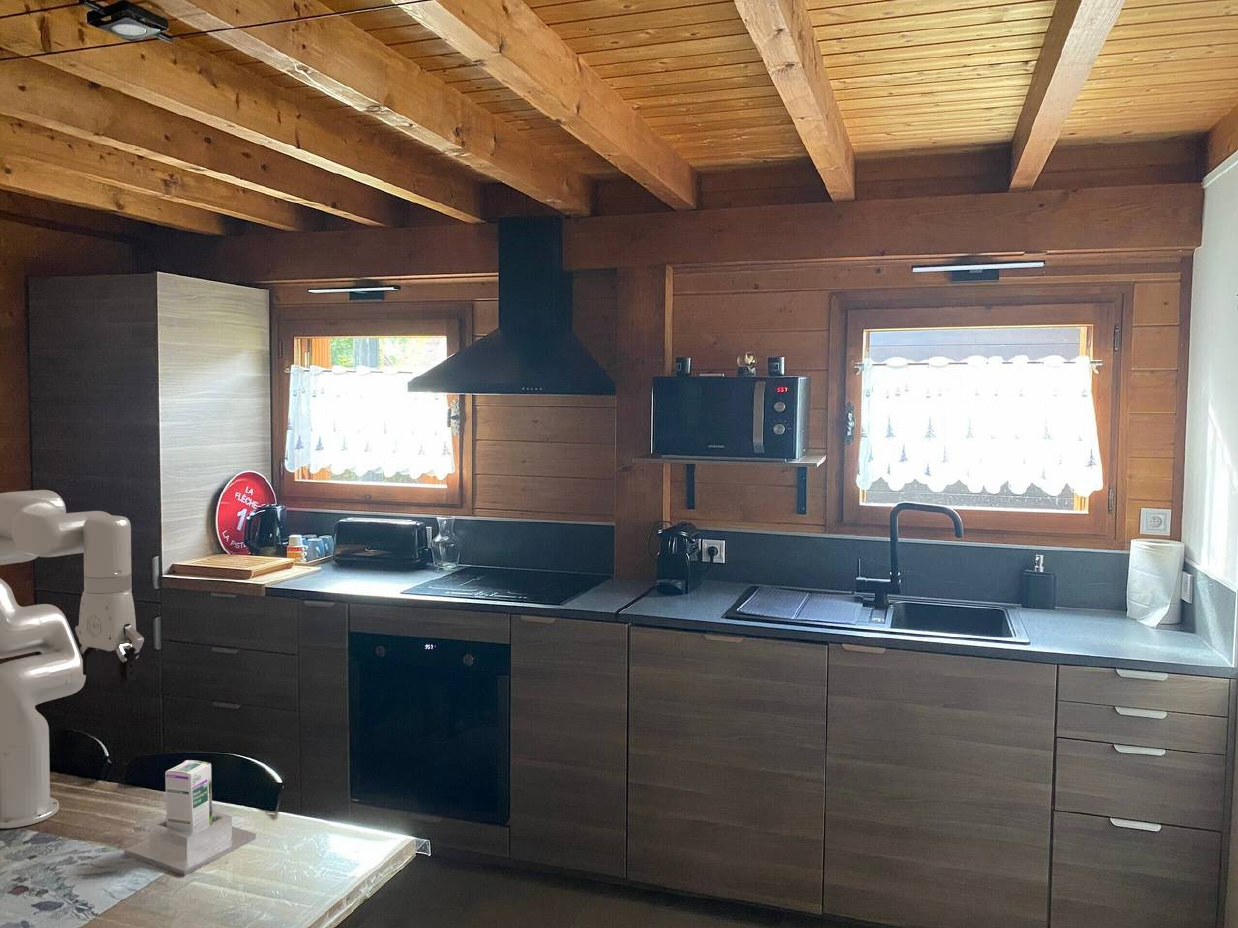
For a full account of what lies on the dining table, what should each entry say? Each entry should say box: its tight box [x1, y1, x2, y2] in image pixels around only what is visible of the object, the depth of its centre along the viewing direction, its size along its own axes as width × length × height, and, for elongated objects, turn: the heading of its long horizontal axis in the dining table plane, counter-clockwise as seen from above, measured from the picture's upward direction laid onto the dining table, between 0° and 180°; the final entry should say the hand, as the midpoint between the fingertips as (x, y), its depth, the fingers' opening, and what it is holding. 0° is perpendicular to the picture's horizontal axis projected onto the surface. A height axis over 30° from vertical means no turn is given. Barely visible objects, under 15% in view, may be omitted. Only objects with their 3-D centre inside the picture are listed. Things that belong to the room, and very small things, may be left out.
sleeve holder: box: [123, 809, 257, 877], centre depth 176 cm, size 16×16×5 cm
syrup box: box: [164, 759, 213, 834], centre depth 176 cm, size 6×6×14 cm
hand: (109, 677), depth 170 cm, fingers open, 9 cm apart
